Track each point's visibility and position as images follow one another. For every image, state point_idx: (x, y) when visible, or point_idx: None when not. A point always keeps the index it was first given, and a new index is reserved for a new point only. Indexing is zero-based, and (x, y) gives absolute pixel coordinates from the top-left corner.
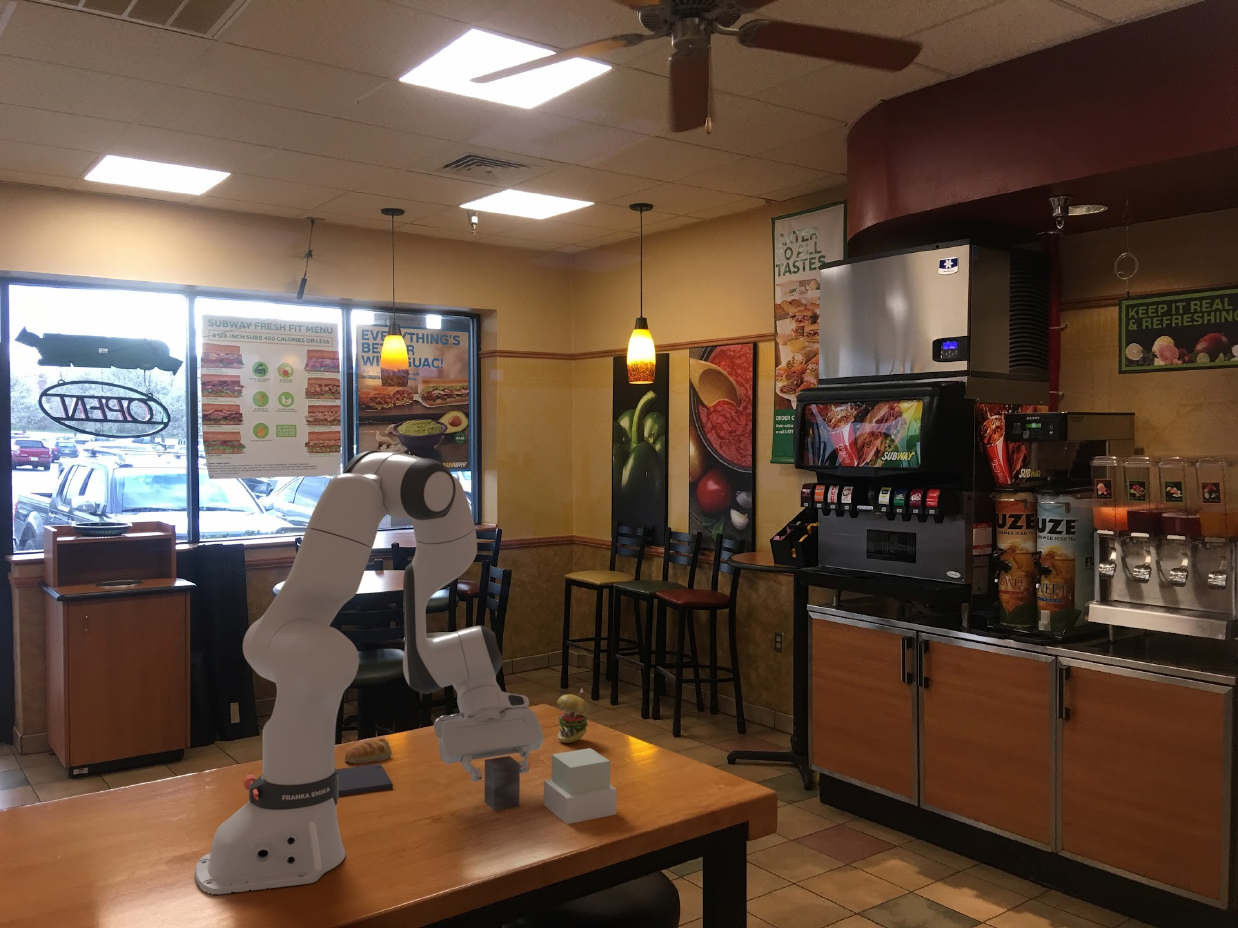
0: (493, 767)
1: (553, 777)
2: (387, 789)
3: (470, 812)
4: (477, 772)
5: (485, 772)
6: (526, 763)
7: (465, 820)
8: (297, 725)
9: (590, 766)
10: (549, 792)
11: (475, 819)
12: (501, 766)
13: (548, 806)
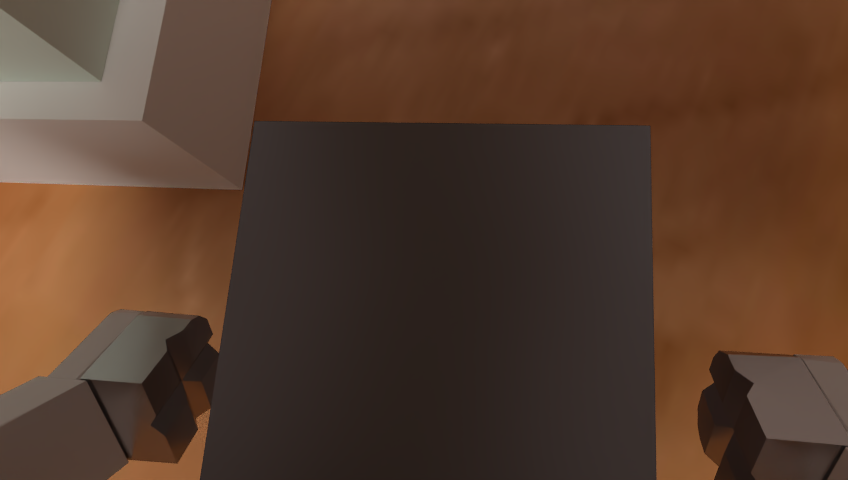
0: (648, 163)
1: (78, 25)
2: None
3: (740, 311)
4: (802, 389)
5: None
6: (97, 346)
7: (821, 192)
8: None
9: None
10: (198, 53)
11: (746, 176)
12: (527, 134)
13: (245, 120)
